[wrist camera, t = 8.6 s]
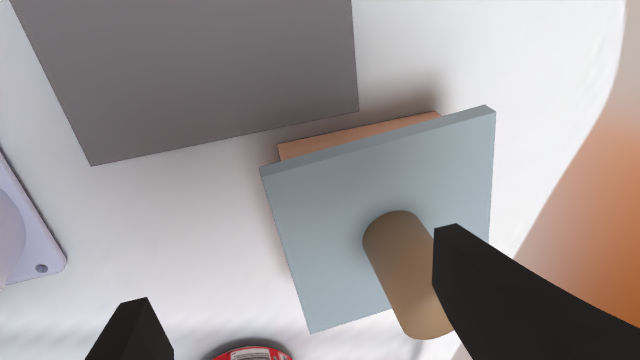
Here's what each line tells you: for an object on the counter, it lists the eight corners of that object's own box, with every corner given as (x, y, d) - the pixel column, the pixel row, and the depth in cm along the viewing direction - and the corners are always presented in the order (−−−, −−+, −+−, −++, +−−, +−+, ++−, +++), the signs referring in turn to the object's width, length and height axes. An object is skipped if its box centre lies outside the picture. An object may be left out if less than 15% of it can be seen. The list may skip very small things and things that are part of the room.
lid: (307, 321, 21) (332, 422, 17) (259, 167, 16) (277, 255, 12) (477, 267, 22) (543, 350, 18) (484, 104, 17) (580, 165, 13)
